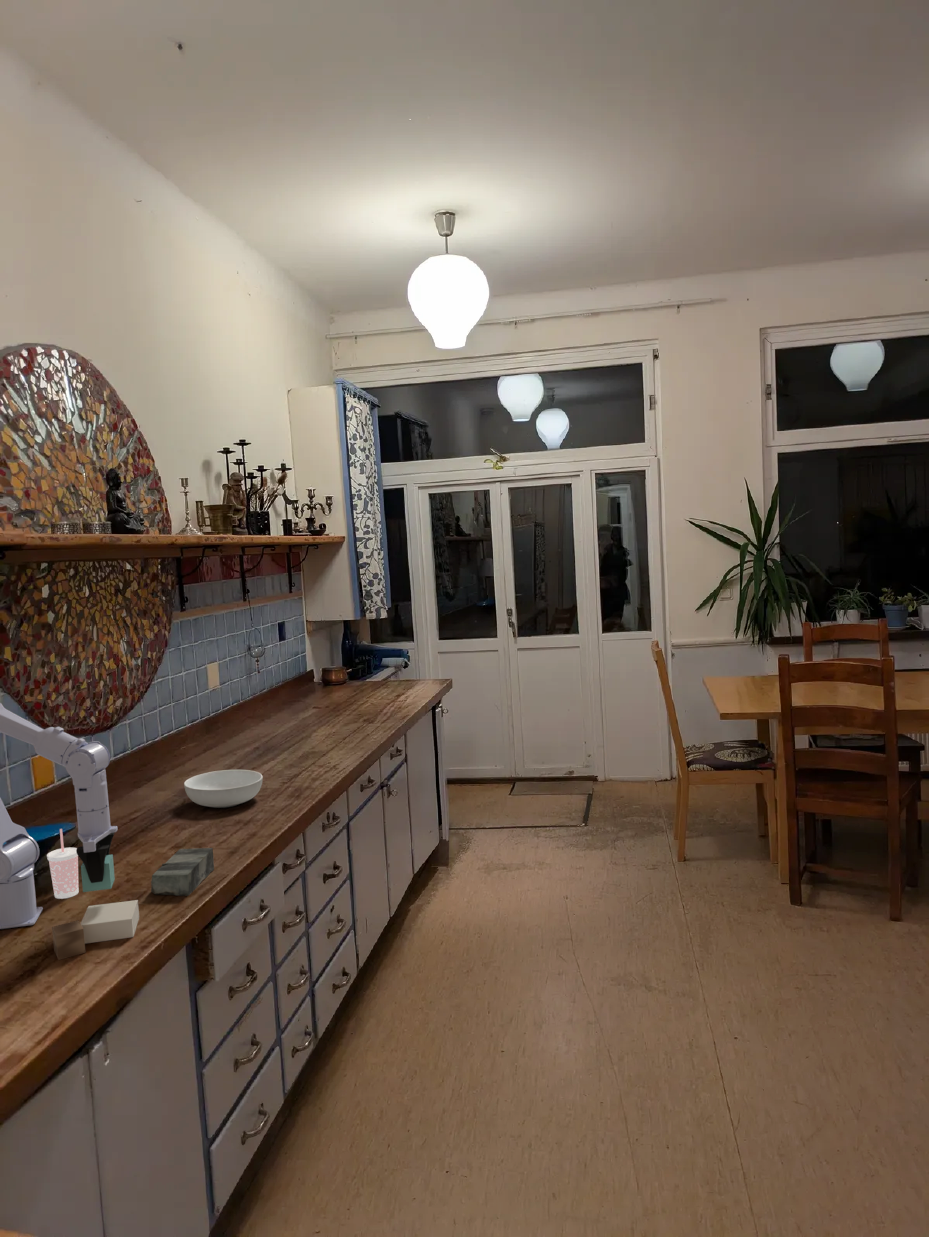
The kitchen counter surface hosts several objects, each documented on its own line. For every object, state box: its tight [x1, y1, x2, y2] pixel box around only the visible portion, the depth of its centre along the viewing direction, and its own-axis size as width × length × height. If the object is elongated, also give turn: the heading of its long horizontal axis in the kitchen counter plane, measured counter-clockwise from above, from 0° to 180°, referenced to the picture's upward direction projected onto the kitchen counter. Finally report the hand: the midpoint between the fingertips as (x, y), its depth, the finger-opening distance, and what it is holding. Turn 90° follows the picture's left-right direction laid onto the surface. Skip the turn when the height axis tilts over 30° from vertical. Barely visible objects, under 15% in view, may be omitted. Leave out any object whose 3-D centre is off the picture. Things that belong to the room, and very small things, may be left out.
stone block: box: [150, 847, 215, 897], centre depth 194 cm, size 9×14×5 cm, turn 174°
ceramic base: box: [80, 899, 140, 944], centre depth 171 cm, size 9×9×4 cm
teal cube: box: [80, 854, 116, 893], centre depth 174 cm, size 5×5×5 cm
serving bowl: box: [183, 769, 264, 809], centre depth 250 cm, size 21×21×7 cm
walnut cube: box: [51, 920, 86, 961], centre depth 163 cm, size 4×4×4 cm
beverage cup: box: [46, 828, 80, 900], centre depth 189 cm, size 6×6×14 cm
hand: (99, 876), depth 174 cm, fingers closed on teal cube, 5 cm apart
